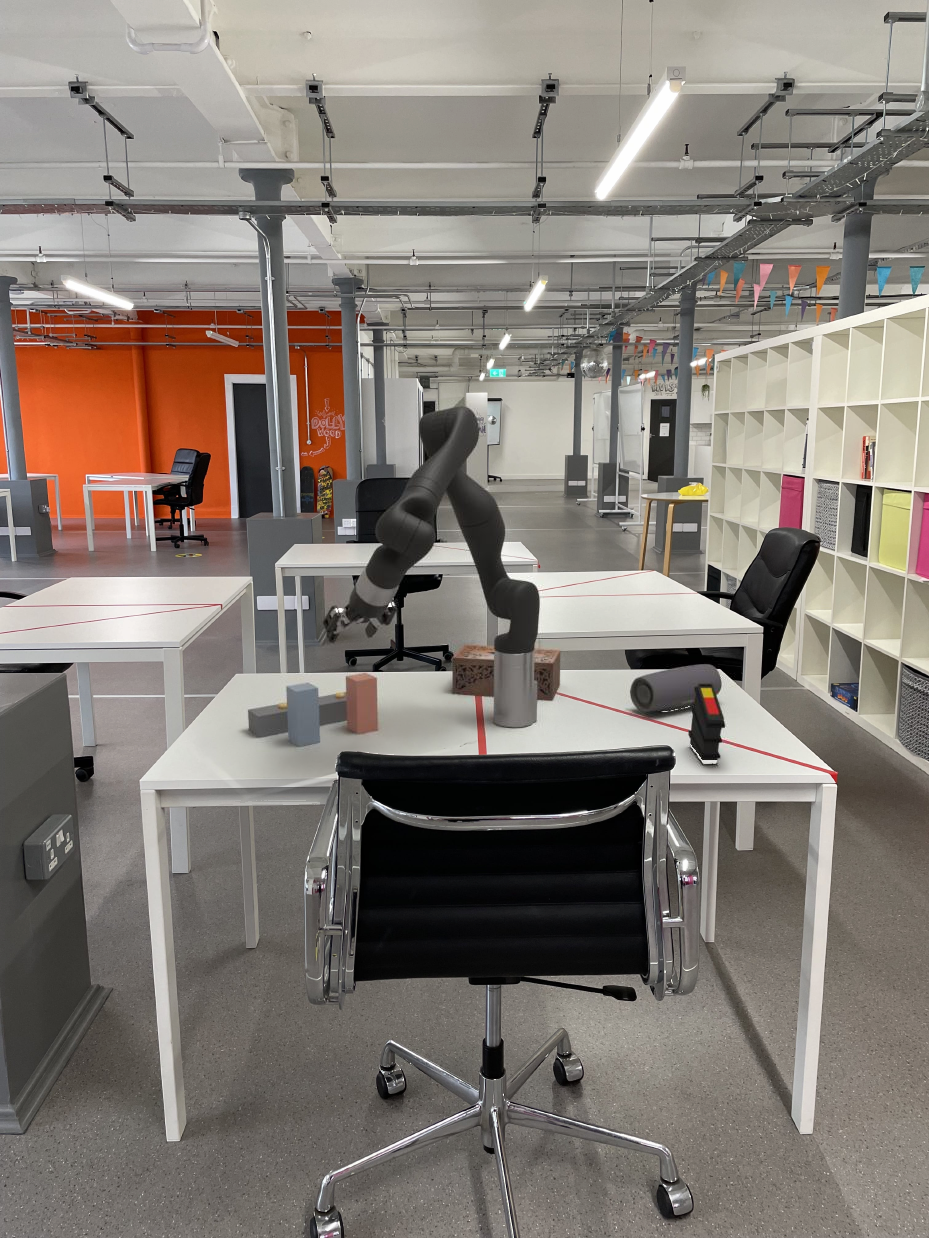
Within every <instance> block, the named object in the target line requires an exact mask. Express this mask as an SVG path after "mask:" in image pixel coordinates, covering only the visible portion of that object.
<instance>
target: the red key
mask: <svg viewBox="0 0 929 1238" xmlns="http://www.w3.org/2000/svg"><path fill="white" fill-rule="evenodd" d="M345 692H346V705H347V721H346V727H347V729H348V730H349V731H351V732H353V733H355V734H356V735H361V734H366V733H372V732H375V731H379V722H378V677H376V676H374V675H372V674H370V673H367V672H362V673H357V674H350V675H345Z"/></svg>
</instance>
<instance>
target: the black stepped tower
mask: <svg viewBox="0 0 929 1238" xmlns="http://www.w3.org/2000/svg"><path fill="white" fill-rule="evenodd" d="M694 690H695V693H696V696H695V702H694V704H693V706H691V707H690V711H691V713H692V716H691V717H692V718H691V725H690V730H688V737H689V739H690V741H689V745H690V744H691V745H692V747H693V748H694V749H695V750H696V752H697V753H698V754H699V756H700V757H701V759H702V760H718V761H719V759H721V753H720V751H719V749H720V747H719V746H720V743H721V744H722V743H723V739H722V737H721V733H722V729H725V728H726V723H725V716H724V713H723V711H722V708H721V705H720V701H719V699H718V697H717V695H718V694H717V695H716V692H715V689H714V686H713V684H711V683H699V684H698V687H695V688H694Z"/></svg>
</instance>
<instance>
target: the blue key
mask: <svg viewBox="0 0 929 1238" xmlns="http://www.w3.org/2000/svg"><path fill="white" fill-rule="evenodd" d="M285 689H286V703H287V717H288V733H287V737H288V741H289V742H290V743H292V744H293V745H295V746H296V747H297V748H299V747H305V746H309V745H314V744H319V743H320V742H321V731H320V727H321V726H320V725H319V697H320V696H319V687H317V686H315V685H313V684H312V683H309V682H304V683H303V682H302V683H298V684H297V683H296V684H291V685H285Z"/></svg>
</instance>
